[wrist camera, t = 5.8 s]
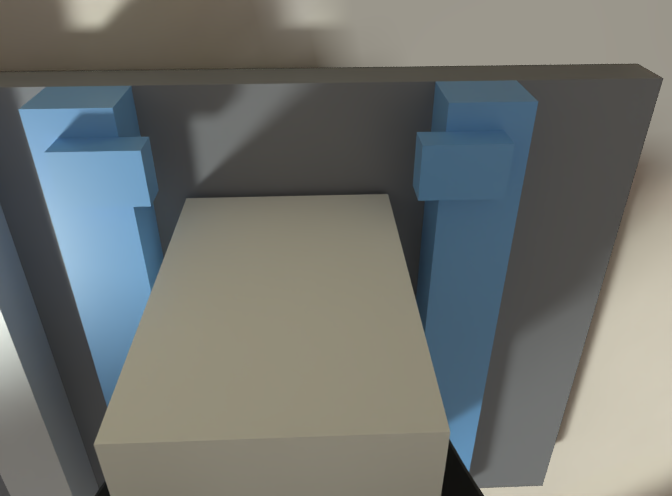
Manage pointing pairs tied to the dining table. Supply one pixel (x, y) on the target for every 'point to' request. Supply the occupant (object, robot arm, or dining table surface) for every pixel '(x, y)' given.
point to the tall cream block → (278, 359)
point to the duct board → (309, 180)
